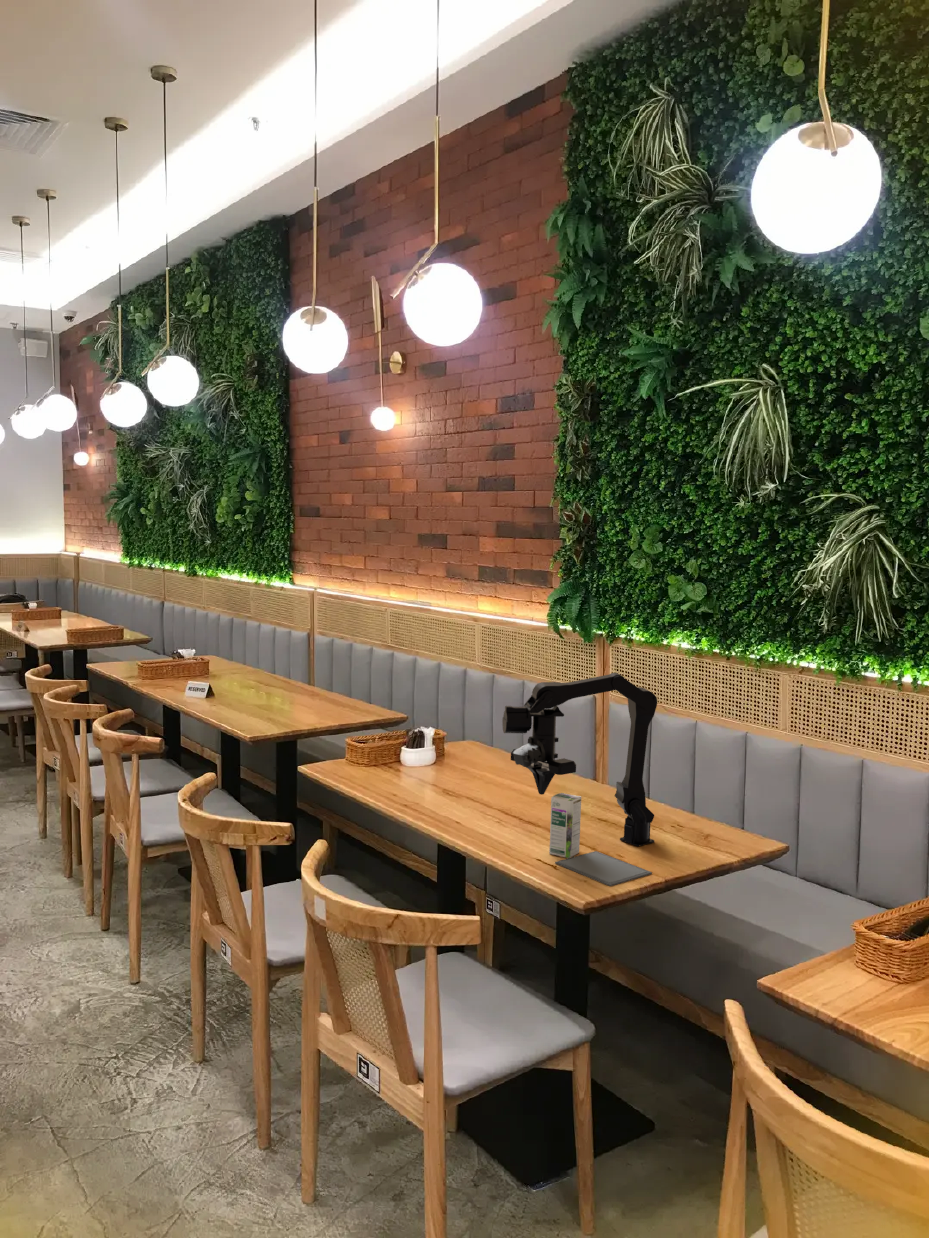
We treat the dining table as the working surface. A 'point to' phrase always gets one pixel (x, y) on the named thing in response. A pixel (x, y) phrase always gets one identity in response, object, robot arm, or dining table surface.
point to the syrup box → (565, 825)
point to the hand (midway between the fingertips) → (541, 794)
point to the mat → (603, 868)
